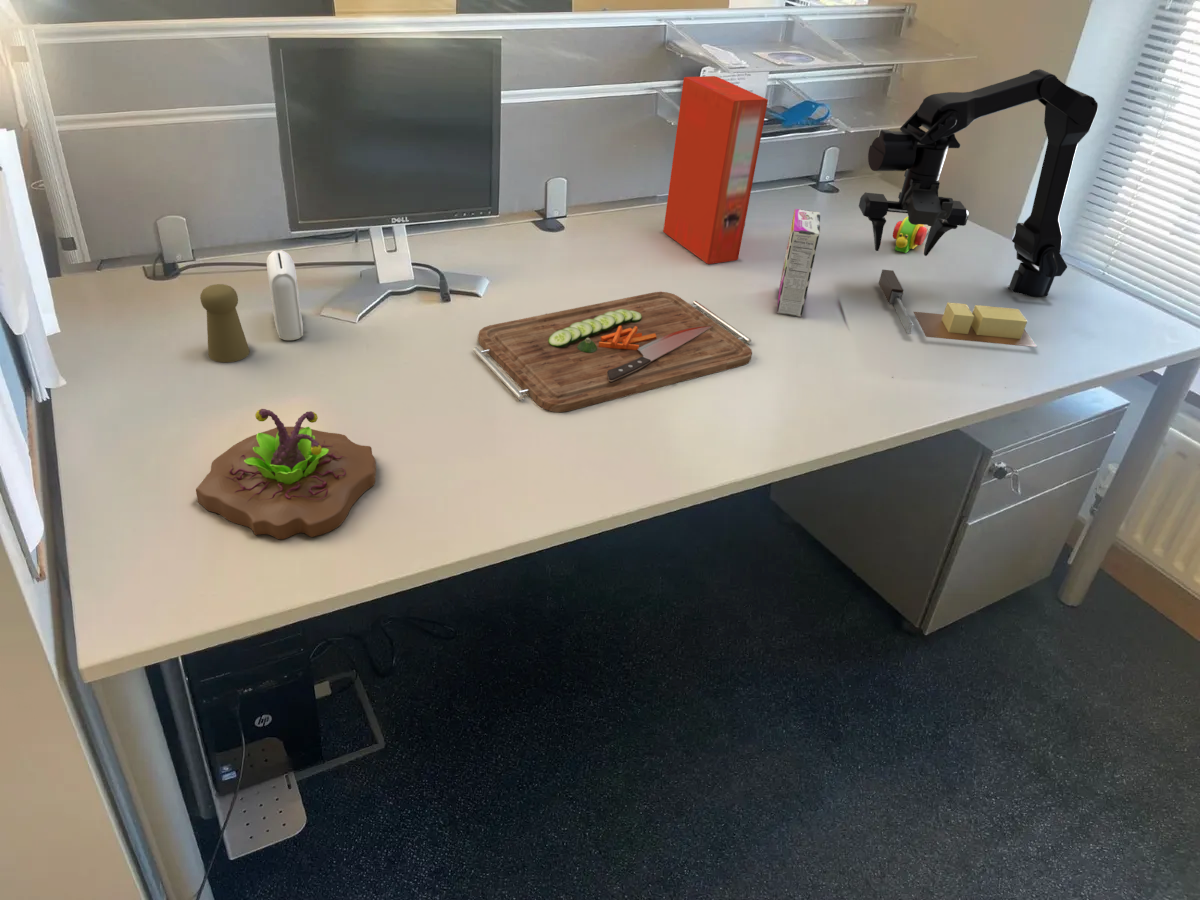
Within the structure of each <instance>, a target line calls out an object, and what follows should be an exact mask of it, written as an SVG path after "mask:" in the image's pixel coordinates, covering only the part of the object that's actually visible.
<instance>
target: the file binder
mask: <svg viewBox="0 0 1200 900" xmlns="http://www.w3.org/2000/svg"><path fill="white" fill-rule="evenodd" d="M768 102H769V99H767V98H765V97H763V96H760V95H758V94H756V93H755V92H752V91H750V90H748V89H745V88H743V87H741V86H739V85H736V84H734V83H732V82H730V81H728V80H726V79H724V78H721V77H718V76H717V75H716V76H715V75H707V76H706V75H705V76H684V77H683V82H682V87H681V96H680V104H679V112H678V119H677V127H676V133H675V141H674V148H673V155H672V156H673V157H672V163H671V170H670V171H671V172H670V178H669V185H668V193H667V202H666V209H665V216H664V222H663V223H664V224H663V230H662V232H663V233H665V235H667V236H668V237H669V238H670V239H672V240H674V241H675V242H677V243H678V244H679V245H681V246H682V247H683V248H685V249H686V250H687V251H689V252H690V253H692V254H693V255H695V256H696V257H698V258H699V259H700V260H701V261H703V262H704V263H706V264H708V265H714V264H721V263H727V262H728V263H729V262H734V261H738V259H739V257H740V252H741V247H742V241H743V236H744V230H745V227H746V226H745V225H746V221H747V220H746V219H747V214H748V209H749V204H750V198H751V193H752V188H753V182H754V177H755V172H756V168H757V167H756V166H757V161H758V156H759V150H760V145H761V139H762V135H763V134H762V133H763V130H764V129H763V128H764V123H765V118H766V112H767V107H768Z"/></svg>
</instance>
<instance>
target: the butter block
mask: <svg viewBox="0 0 1200 900" xmlns="http://www.w3.org/2000/svg"><path fill="white" fill-rule="evenodd" d="M972 314H973V316H974V318H973V321H972V324H971V326H972V328H973V329H974V331H975V333H976V334H977V335H983V336H994V337H1004V338H1015V339H1021V337H1022V334H1023V331H1024V329H1025V330H1026V326H1027V325H1028V320H1027V318H1026V317H1025V315H1023V313H1022V312H1021V310H1020V309H1019V308H1012V307H999V306H989V305H980V304H975V305H974V307H973V310H972Z"/></svg>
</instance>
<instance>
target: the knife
mask: <svg viewBox="0 0 1200 900" xmlns="http://www.w3.org/2000/svg"><path fill="white" fill-rule="evenodd" d="M878 284H879V287H880V289H881V291H882V293H883V295H884V297H885V299H886V302H887V303H888V304H889V305H891V306H893V308H894V310H895V312H896V314H897V316H898V318H899V320H900V322H901V324H902V326H903V328H904V331H905V332H906V335H911V334H912V329H913V327H914V324H913V322H912V320H911V317H910V316H909V314H908V311H907V310H906V307H905V305H904V304H903V302H902V299H903V296H904V288H903V286H902V285H901V282H900V280H899V279H898V277H897V275H896V273H895V271H894V270H891V269H881V272H880V276H879V279H878Z"/></svg>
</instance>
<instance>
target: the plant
mask: <svg viewBox="0 0 1200 900" xmlns="http://www.w3.org/2000/svg"><path fill="white" fill-rule="evenodd" d="M254 416H255V420H257V421H258V422H265V421H266V420H268V418H269V417H271V420H272V421H273V422H274V424H275V425H276V427H274V428H271V429H267V430H265V431H261V432H258V433H256V434H253V435H251V436H248V437H246V438H244V439H242V440H241V441H238V442H237V443H235V444H233V445H232V446H231V447H230V448H228V449H226V451H224V452H223V453H221V454H220V455H219V456H217V457H216V458H215V459H214V460H212V462H211V466H210V471H209V472H208V474H207V475H206V476H205V477H204V478H203V480H202V481H201V482H200V483H199V484H198V485H197V487H196V488H195V493H196V499H197V504H198V503H199V504H200V505H201V506H202V507H203V508H204V509H205V510H207V511H209V512H212V513H216V514H218V515H220V516H222V517H223V518H224V519H226V520H227V521H229V522H231V523H234V524H237V525H240V526H243V527H247V528H249V529H250V530H252V532H253V534H254V535H255V536H259V535H268V536H271V537H273V538H275V539H277V540H284V539H287V538H290V537H292V536H295V535H297V534H305V535H307V536H309V537H311V538H314V537H318V536H321V535H324V534H327V533H330V532H332V531H334V530H335V529H337V528H338V527H340V526H341V524H343V522H344V521H345V520H346V518H347V516H348V515H349V513H350V511H351V508H352V507H353V506H354V505H355V503H356V502H357V500H359V499H360V497H361V496H363V494H364V493H365V492H366V491H367V490H370V488H372V487H374V486H375V484H376V476H377V464H376V463H377V462H376V458H375V456H374V454H373V448H372V447H371V446H370V445H361V444H358V443H355V442H353V441H352V440H350V438H349V437H348V436H347V435H346V434H342V433H337V432H328V431H323V430H317V429H313V428H311V427H310V426H306V427H305V426H304V427H303V426H302V424H303V422H304V421H305V420H306V421H308V422H309V423H317V421H318V417H319V416H318V414H317V413H316V412H315V411H311V410H309V411H305V413H303V414H302V415H300V417H298V418H297V421H296V422H295V425H294V426H285V424H284V422H282V421H281V419H280V418H279V417H278V414H276V413H274V411H272V410H270V409H267V408H261V409H258V410H257V411H256V412H255V415H254Z"/></svg>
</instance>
